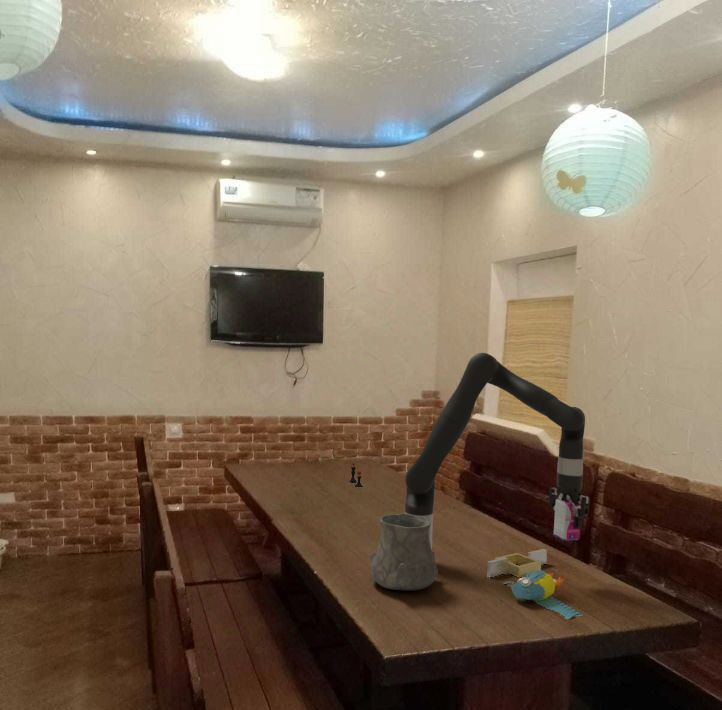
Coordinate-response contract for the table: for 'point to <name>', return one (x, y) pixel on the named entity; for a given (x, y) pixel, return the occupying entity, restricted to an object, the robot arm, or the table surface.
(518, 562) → the square frame with handle
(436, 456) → the robot arm
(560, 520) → the supplement box
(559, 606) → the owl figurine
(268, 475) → the table surface
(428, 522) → the vessel
